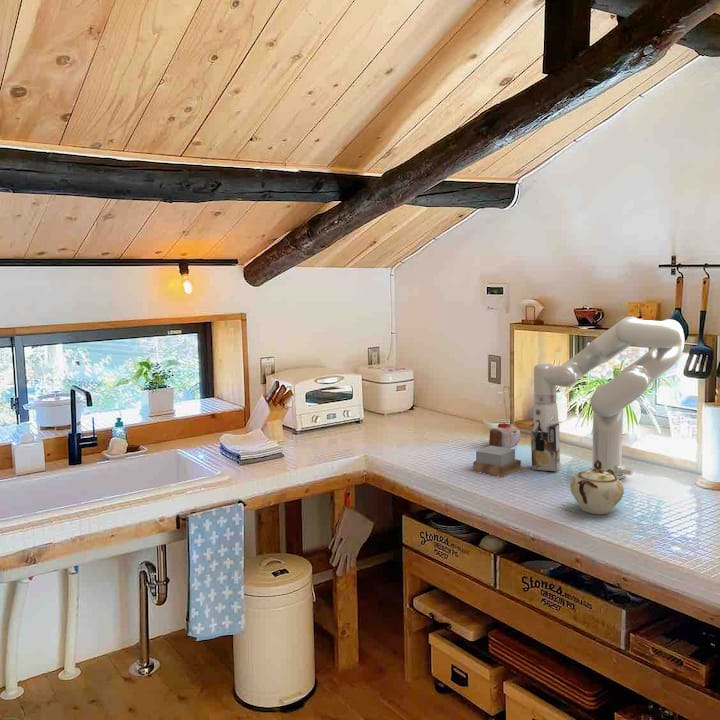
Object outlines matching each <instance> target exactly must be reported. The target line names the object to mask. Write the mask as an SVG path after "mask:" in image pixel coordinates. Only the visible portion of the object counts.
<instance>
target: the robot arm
mask: <svg viewBox="0 0 720 720" xmlns="http://www.w3.org/2000/svg"><path fill="white" fill-rule="evenodd" d="M630 346H637V347H649V348H651V349H649V350H648V351H647V352H646V353H644V355H642V356H641V357H640V358H638V359H637V360H635V361H634V362H632V363H631V364H629V365H628V366H626V367H624V368H623V369H622V371H620V373H619V374H618V375H616V376H615V377H613V379H610V381H609V382H607V383H603V384H601V385H599V386H598V387H597V388H596V389H595V390H594V392H593V394H592V395H591V398H590V406H591V407H590V408H591V410H592V411H593V414H592V415H593V416H592V448H591V449H592V450H591V451H592V455H591V456H592V460H591V464H592V465H591V466H592V467H590V468H588V469H587V471H588V470H593V469H595V467H594V463H595V461H596V460H599V461H601V464H602V465H601V466H602V468H601V469H600V470H603V471H606V470H608V469H611V470H613V472H614V476H616V477H617V478H618V479H619V480H623V479H624V478H626V477H627V475H628V476H633V474H634V470H633V468H632V467H626V466H625V462H622V458H623V451H622V450H623V421H624V420H623V419H624V409H625V408H626V407H628V406H629V405H630V404H632V403H633V402H635V401H637V400H638V399H639V398H640V397H642V395H643V394H645V392H647V390H648V388H649V386H650V385H651V384H652V383H653V382H655V381H656V380H657V379H659V377H661V376H662V375H663V374H665V373H666V372H667V371H668V370H670V369H671V368H672V367H673V366H674V365H675V364H676V363H677V361H679V359H680V357H681V355H682V354H683V351H684V347H685V333H684V329H683V327H682V325H681V324H680V322H679V321H677V320H675V319H670V318H667V319H662V320H648V319H647V320H646V319H639V318H638V317H636V316H626V317H624V318H622V319H621V320H620V321H618V322H617V323H615V324H614V325H612V327H610V328H609V329H607V330H606V331H604V332H603V333H602V334H600V335H599V336H598V337H596V338H594V340H592V341H591V342H590V343H589V344H587V346H586V347H584V348H583V349H582V350H580V351H578V352H577V353H576V354H575V355H573V357H570V358H569V359H568V360H567V361H565V362H564V363H563V364H562V363H561V365H556V366H555V365H554V364H549V363H540V364H535V366H534V367H533V404H534V408H533V423H534V428H533V429H532V432H533V435H534V439H535V450H537V451H544V440H543V437H544V433H548V432H549V426H552V425H554V424H557V423H559V411H558V404H557V387H563V388H568V387H572V386H574V384H575V383H576V382H577V381H579V379H581V378H582V377H583V376H585V375H586V374H588V373H589V372H591V371H592V370H593V369H595V368H597V367H598V366H600V365H602V364H605V363H608V362H609V361H611V360H612V359H614V358H615V357H617V356H618V355H619V354H620V353H622V352H623V351H625V350H626V349H627V348H629V347H630ZM559 424H560V423H559ZM539 427H540V428H541V430H542V431H538V429H539ZM539 433H541V436H540V434H539ZM598 466H599V464H598V463H597V467H598Z"/></svg>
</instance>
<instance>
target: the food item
mask: <svg viewBox="0 0 720 720" xmlns="http://www.w3.org/2000/svg"><path fill="white" fill-rule="evenodd" d="M520 442H521V430H520V429H519V427H518V426H516V425H515V424H512V423H505V422H504V423H501V422H500V423H498V424H497V427H495V428H491V429H489V440H488V446H497V447H503V448H510V449H513V447H514V446H517V445H518V444H519V443H520Z"/></svg>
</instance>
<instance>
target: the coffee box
mask: <svg viewBox="0 0 720 720" xmlns="http://www.w3.org/2000/svg"><path fill="white" fill-rule="evenodd" d="M533 428H534V422H532V424H530V444H531V445H530V446H531V447H530V448H531V451H530V452H531V453H530V454H531V455H530V456H531V470H536V471H548V472H558V471H559V470H560V468H561V447H560V443H561V442H560V439H561V437H560V423H557V424H554V425H552V426H549V432H548V433H544V437H543V440H544V451H537V450H535V439H534V435H533V432H532V429H533ZM538 431H542V430H541V428H540V427H539V429H538ZM539 434H540V436H541V433H539Z"/></svg>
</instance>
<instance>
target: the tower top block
mask: <svg viewBox="0 0 720 720" xmlns="http://www.w3.org/2000/svg"><path fill="white" fill-rule="evenodd" d="M515 459H516V449H515V448H503V447H497V446H489V445H488V446H486V447H483V448H481V449H478V450H476V451H475V461H476V462H478V463H484V464H490V465H495V466H501V467H502V466H504V465H506V464H508V463H510V462H512V461H514V460H515Z"/></svg>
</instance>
